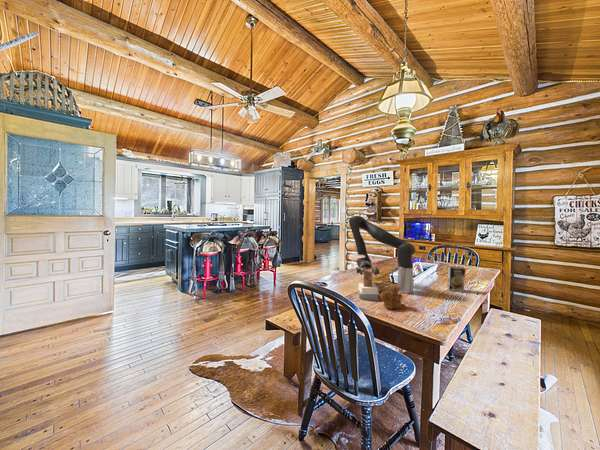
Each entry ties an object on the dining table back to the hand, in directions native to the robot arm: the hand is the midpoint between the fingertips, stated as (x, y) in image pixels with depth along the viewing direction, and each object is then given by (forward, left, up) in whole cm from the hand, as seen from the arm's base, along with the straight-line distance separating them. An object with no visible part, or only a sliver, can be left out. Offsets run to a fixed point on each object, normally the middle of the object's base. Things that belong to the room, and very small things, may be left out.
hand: (368, 273), depth 163 cm
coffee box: (-62, -25, -16) cm, 69 cm away
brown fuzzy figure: (-12, +14, -16) cm, 24 cm away
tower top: (0, -1, -12) cm, 12 cm away
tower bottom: (0, -1, -16) cm, 16 cm away
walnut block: (0, -1, -8) cm, 8 cm away
